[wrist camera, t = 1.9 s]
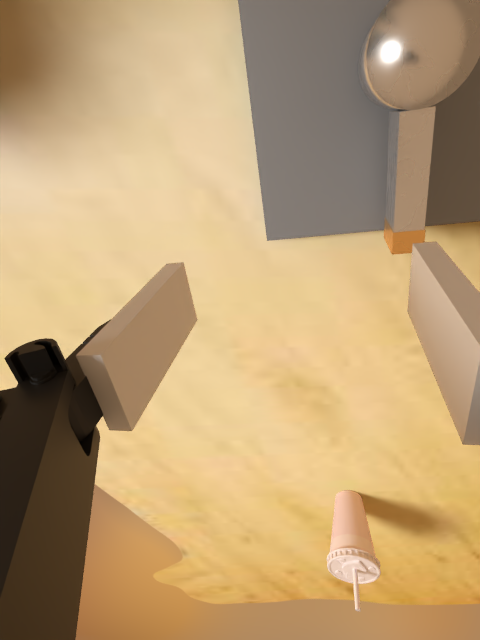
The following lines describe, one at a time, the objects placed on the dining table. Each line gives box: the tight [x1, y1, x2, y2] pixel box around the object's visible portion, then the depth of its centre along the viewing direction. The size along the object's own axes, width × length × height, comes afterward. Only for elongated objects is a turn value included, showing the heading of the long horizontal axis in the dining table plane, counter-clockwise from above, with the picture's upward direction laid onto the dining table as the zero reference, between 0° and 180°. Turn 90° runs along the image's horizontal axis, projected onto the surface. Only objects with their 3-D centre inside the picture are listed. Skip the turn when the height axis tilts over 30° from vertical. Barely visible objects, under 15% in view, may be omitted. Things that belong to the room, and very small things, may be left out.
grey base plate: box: [238, 0, 480, 241], centre depth 26 cm, size 22×24×2 cm
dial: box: [358, 0, 480, 254], centre depth 25 cm, size 15×6×6 cm, turn 9°
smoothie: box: [327, 490, 381, 611], centre depth 47 cm, size 6×6×14 cm
